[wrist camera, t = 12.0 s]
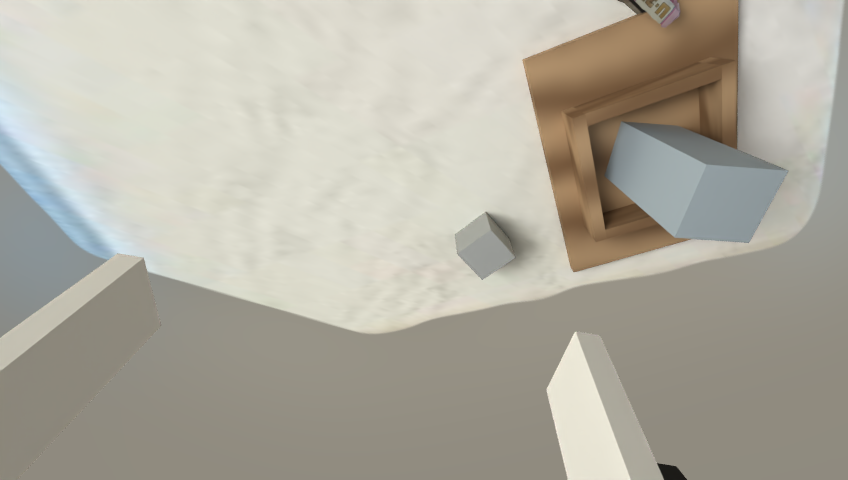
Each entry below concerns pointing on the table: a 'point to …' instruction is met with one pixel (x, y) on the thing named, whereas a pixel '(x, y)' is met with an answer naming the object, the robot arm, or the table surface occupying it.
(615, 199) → the tray
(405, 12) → the table surface
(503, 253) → the grey block
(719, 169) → the block
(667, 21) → the pink elongated piece
